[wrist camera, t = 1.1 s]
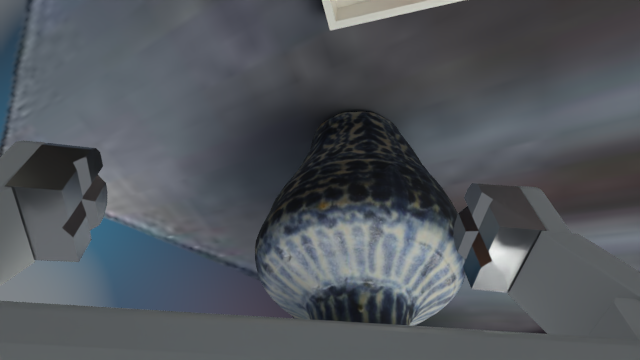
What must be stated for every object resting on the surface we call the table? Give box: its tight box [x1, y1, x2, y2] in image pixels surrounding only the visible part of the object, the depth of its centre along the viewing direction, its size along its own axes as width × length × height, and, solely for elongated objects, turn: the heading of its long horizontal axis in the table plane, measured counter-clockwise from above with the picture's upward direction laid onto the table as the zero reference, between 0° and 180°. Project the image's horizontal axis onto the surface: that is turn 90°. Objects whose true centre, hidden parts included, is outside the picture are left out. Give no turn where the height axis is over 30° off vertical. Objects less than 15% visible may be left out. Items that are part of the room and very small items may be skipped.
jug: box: [255, 112, 466, 326], centre depth 45 cm, size 21×19×30 cm
